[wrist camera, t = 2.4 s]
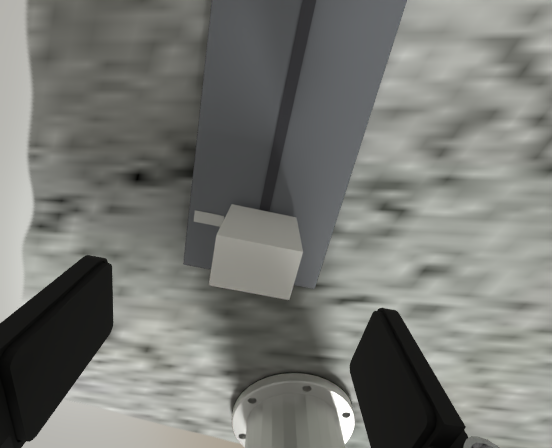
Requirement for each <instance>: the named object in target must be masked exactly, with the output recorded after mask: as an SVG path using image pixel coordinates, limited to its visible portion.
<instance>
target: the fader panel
mask: <svg viewBox="0 0 552 448" xmlns="http://www.w3.org/2000/svg"><path fill="white" fill-rule="evenodd" d="M406 2H407V0H212V5H211V14H210V24H209V33H208V42H207V51H206V60H205V70H204V79H203V88H202V97H201V107H200V116H199V125H198V134H197V143H196V153H195V162H194V171H193V180H192V190H191V199H190V208H189V217H188V226H187V236H186V245H185V254H184V263H183V264H184V265H190V266H195V267H200V268H206V269H211V267H212V261H213V254H214V248H215V241H216V235H217V233H218V231H219V229H220V227H221V225H222V223H223V221H224V219H225V217H226V215H227V213H228V211H229V209H230V207H231V205H232V204H234V205H239V206H243V207H248V208H253V209H258V210H263V211H268V212H272V213H277V214H282V215H287V216H292V217H296V218H297V222H298V228H299V233H300V238H301V244H302V249H303V254H302V258H301V261H300V265H299V268H298V272H297V275H296V279H295V282H294V285H296V286H301V287H307V288H312V289H315V286H316V283H317V280H318V277H319V273H320V270H321V267H322V264H323V261H324V258H325V255H326V252H327V248H328V245H329V242H330V239H331V236H332V233H333V230H334V227H335V223H336V220H337V217H338V214H339V211H340V208H341V205H342V202H343V199H344V195H345V192H346V189H347V186H348V183H349V180H350V177H351V174H352V170H353V167H354V164H355V161H356V158H357V155H358V152H359V149H360V145H361V142H362V139H363V136H364V133H365V130H366V127H367V124H368V120H369V117H370V114H371V111H372V108H373V105H374V102H375V99H376V96H377V92H378V89H379V86H380V83H381V80H382V77H383V74H384V71H385V67H386V64H387V61H388V58H389V55H390V52H391V49H392V46H393V42H394V39H395V36H396V33H397V30H398V27H399V24H400V21H401V17H402V14H403V11H404V8H405V5H406Z"/></svg>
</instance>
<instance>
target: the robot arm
mask: <svg viewBox="0 0 552 448" xmlns="http://www.w3.org/2000/svg"><path fill="white" fill-rule="evenodd" d="M112 327H113V289H112V265H111V264H109V263H108V262H107V259H105V258H101V257H95V256H90V255H86V256H84V257H83V258H82V259H80V260H79V261H78V262H77V263H75V264H74V265H73V266H72V267H70V268H69V269H68V270H67V271H65V272H64V273H63V274H62V275H60V276H59V277H58V278H57V279H55V280H54V281H53V282H52V283H50V284H49V285H48V286H47V287H45V288H44V289H43V290H42V291H40V292H39V293H38V294H37V295H35V296H34V297H33V298H32V299H30V300H29V301H28V302H27V303H25V304H24V305H23V306H22V307H20V308H19V309H18V310H16V311H15V312H14V313H13V314H11V315H10V316H9V317H8V318H7V319H5V320H4V321H3V322H1V323H0V448H21V447H22V446H23V444H24V443H25V442H26V441H31V440H33V439H34V438H35V437H36V436H37V434H38V433H39V432H40V430H41V428H42V427H43V426H44V425H45V423H46V422H47V420H48V419H49V418H50V416H51V415H52V414H53V412H54V411H55V409H56V408H57V406H58V405H59V404H60V402H61V401H62V400H63V398H64V397H65V396H66V394H67V393H68V391H69V390H70V389H71V387H72V386H73V384H74V383H75V382H76V380H77V379H78V377H79V376H80V375H81V373H82V372H83V371H84V369H85V368H86V366H87V365H88V364H89V362H90V361H91V359H92V358H93V357H94V355H95V354H96V352H97V351H98V350H99V348H100V347H101V346H102V344H103V343H104V341H105V340H106V339H107V337H108V336H109V334H110V332H111V330H112ZM350 374H351V377H352V381H353V384H354V388H355V392H356V395H357V399H358V402H359V406H360V410H361V413H362V417H363V421H364V424H365V428H366V431H367V435H368V439H369V442H370V446H371V448H499V447H498V446H497V445H495V444H493V443H492V442H490V441H488V440H486V439H483V438H481V437H473V436H471V437H469V438H468V436H467V434H466V433H465V431H464V429H465V425H464V423H463V422H462V420H461V418H460V417H459V415H458V413H457V411H456V410H455V408H454V406H453V405H452V403H451V401H450V400H449V398H448V396H447V394H446V393H445V391H444V389H443V388H442V386H441V384H440V383H439V381H438V379H437V377H436V376H435V374H434V372H433V371H432V369H431V367H430V366H429V364H428V362H427V360H426V359H425V357H424V355H423V354H422V352H421V350H420V348H419V347H418V345H417V343H416V342H415V340H414V338H413V337H412V335H411V333H410V331H409V330H408V328H407V326H406V325H405V323H404V321H403V320H402V318H401V316H400V314H399V313H398V312H397V311H396V310H391V309H385V308H379V309H378V311H374V312H373V314H372V316H371V318H370V320H369V322H368V325H367V327H366V329H365V331H364V333H363V336H362V338H361V340H360V342H359V344H358V347H357V349H356V351H355V353H354V355H353V358H352V360H351V363H350ZM354 427H355V416H354V411H353V407H352V404H351V402H350V399H349V398H348V396H347V395H346V394H345V392H344V391H343V390H342V389H340V388H339V387H338V386H337V385H335V384H333V383H332V382H330V381H328V380H326V379H323V378H320V377H318V376H314V375H309V374H301V373H287V374H279V375H274V376H270V377H267V378H265V379H262V380H259V381H257V382H256V383H254V384H252V385H251V386H249V387H248V388H247V389H246V390H245V391H243V392H242V393H241V395H240V396H239V398H238V399H237V400H236V403H235V405H234V408H233V415H232V429H233V432H234V435H235V436H236V438H237V439H238V441H239V442H240V443H241V444H242V445H243V446H244V447H245V448H345V443H346V442H347V441H348V439H349V438H350V436H351V435H352V432H353V430H354Z"/></svg>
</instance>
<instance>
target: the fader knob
mask: <svg viewBox="0 0 552 448" xmlns="http://www.w3.org/2000/svg"><path fill="white" fill-rule="evenodd" d="M302 254H303V249H302V244H301V238H300V233H299V228H298V222H297V218H296V217H292V216H287V215H282V214H277V213H272V212H268V211H263V210H258V209H253V208H248V207H243V206H239V205H234V204H232V205H231V207H230V209H229V211H228V213H227V215H226V217H225V219H224V221H223V223H222V225H221V227H220V229H219V231H218V233H217V235H216V241H215V248H214V254H213V261H212V267H211V274H210V280H209V285H210V286H215V287H221V288H226V289H232V290H237V291H242V292H248V293H253V294H259V295H264V296H270V297H275V298H281V299H286V300H290V296H291V293H292V289H293V286H294V282H295V279H296V275H297V272H298V268H299V265H300V261H301V258H302Z"/></svg>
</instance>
